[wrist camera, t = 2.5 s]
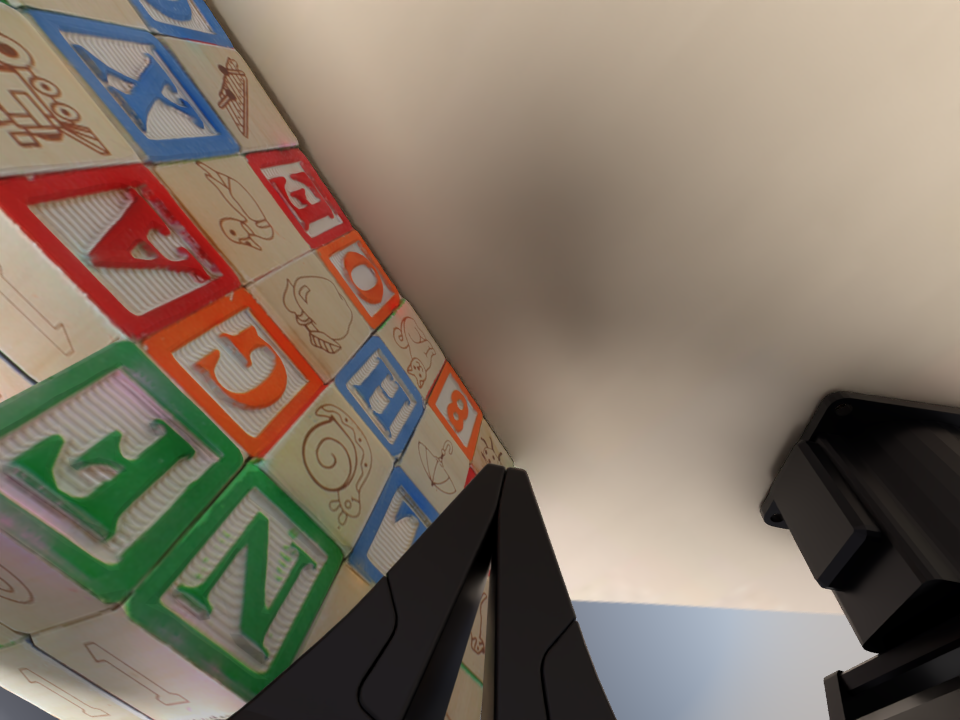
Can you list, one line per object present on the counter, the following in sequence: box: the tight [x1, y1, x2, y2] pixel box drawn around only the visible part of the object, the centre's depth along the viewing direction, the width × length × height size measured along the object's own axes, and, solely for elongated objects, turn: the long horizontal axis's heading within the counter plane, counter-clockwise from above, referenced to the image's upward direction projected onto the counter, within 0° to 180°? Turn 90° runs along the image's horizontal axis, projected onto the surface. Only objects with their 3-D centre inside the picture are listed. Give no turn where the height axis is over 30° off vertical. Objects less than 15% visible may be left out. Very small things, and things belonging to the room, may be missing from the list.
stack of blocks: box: [0, 0, 514, 720], centre depth 12 cm, size 21×6×12 cm, turn 30°
